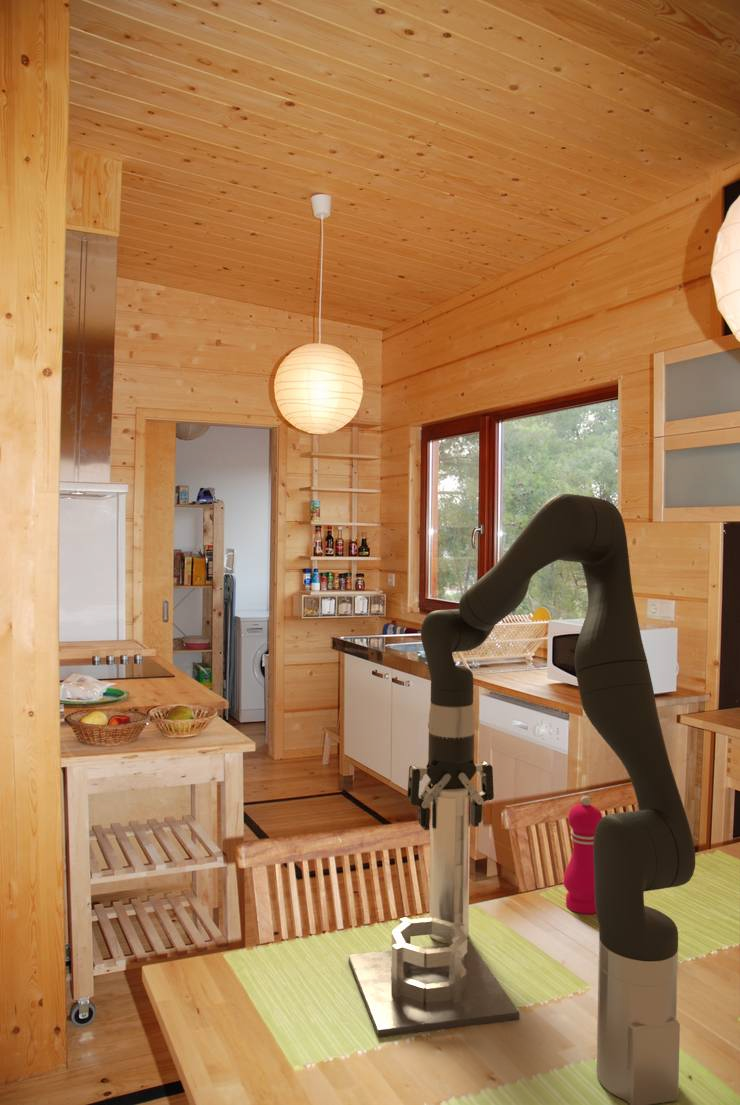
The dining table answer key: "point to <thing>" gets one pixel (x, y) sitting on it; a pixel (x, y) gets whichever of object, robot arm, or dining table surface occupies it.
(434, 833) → the cream peg
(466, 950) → the collar stand
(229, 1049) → the dining table surface
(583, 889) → the pepper mill
